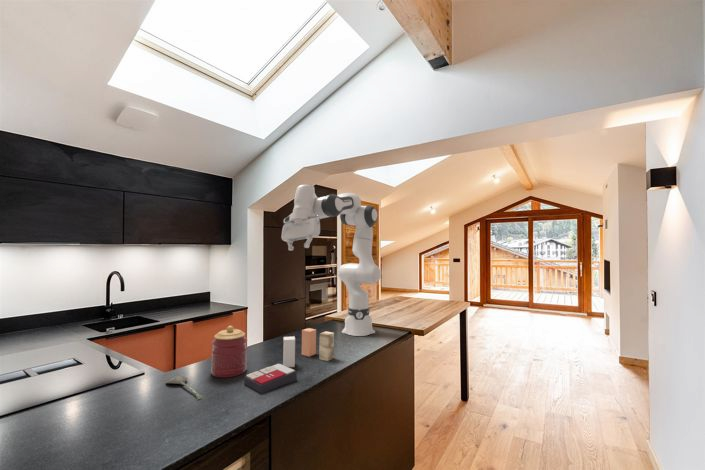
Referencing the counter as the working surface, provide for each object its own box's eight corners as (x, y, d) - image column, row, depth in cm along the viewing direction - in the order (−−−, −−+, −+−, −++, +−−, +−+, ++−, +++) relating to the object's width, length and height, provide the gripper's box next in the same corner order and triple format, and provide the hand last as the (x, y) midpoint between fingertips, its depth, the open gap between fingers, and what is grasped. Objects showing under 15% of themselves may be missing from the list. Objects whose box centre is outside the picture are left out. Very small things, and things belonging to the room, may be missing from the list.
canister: (235, 380, 120) (236, 331, 121) (203, 376, 123) (204, 328, 124) (252, 367, 133) (253, 323, 134) (223, 364, 136) (224, 321, 136)
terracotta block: (308, 352, 153) (308, 328, 153) (315, 353, 150) (316, 329, 151) (301, 354, 149) (301, 330, 149) (309, 356, 146) (309, 331, 147)
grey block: (283, 363, 137) (283, 336, 138) (294, 362, 138) (294, 336, 139) (283, 367, 133) (283, 340, 133) (294, 366, 134) (295, 339, 134)
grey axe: (182, 380, 122) (163, 386, 117) (182, 371, 122) (163, 377, 118) (209, 397, 108) (188, 405, 103) (209, 386, 108) (188, 394, 103)
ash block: (325, 356, 147) (325, 331, 148) (333, 358, 145) (334, 332, 145) (319, 359, 144) (319, 333, 144) (327, 361, 141) (327, 335, 141)
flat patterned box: (243, 374, 117) (279, 361, 128) (244, 386, 117) (279, 372, 128) (261, 383, 110) (296, 368, 121) (261, 396, 110) (297, 380, 121)
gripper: (324, 216, 141) (321, 247, 136) (291, 224, 153) (287, 253, 148) (314, 211, 136) (311, 243, 132) (281, 220, 148) (276, 249, 143)
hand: (298, 248), depth 140 cm, fingers open, 8 cm apart
